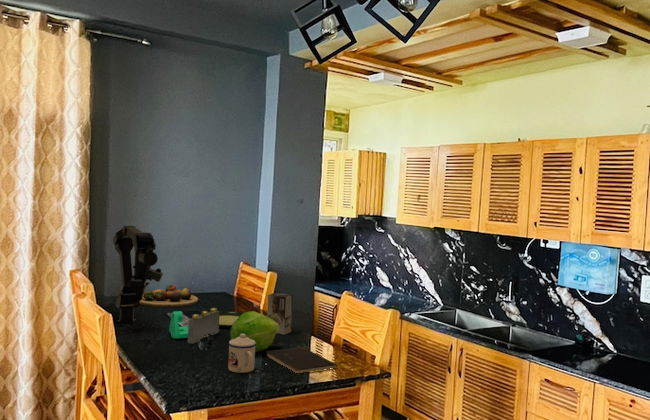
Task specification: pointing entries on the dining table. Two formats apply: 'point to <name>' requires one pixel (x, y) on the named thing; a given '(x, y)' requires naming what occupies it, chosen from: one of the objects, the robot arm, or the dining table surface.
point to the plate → (228, 318)
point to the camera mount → (177, 326)
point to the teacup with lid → (241, 354)
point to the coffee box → (280, 311)
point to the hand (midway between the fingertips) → (140, 300)
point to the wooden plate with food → (168, 298)
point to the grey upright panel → (203, 325)
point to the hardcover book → (300, 360)
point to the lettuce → (255, 329)
